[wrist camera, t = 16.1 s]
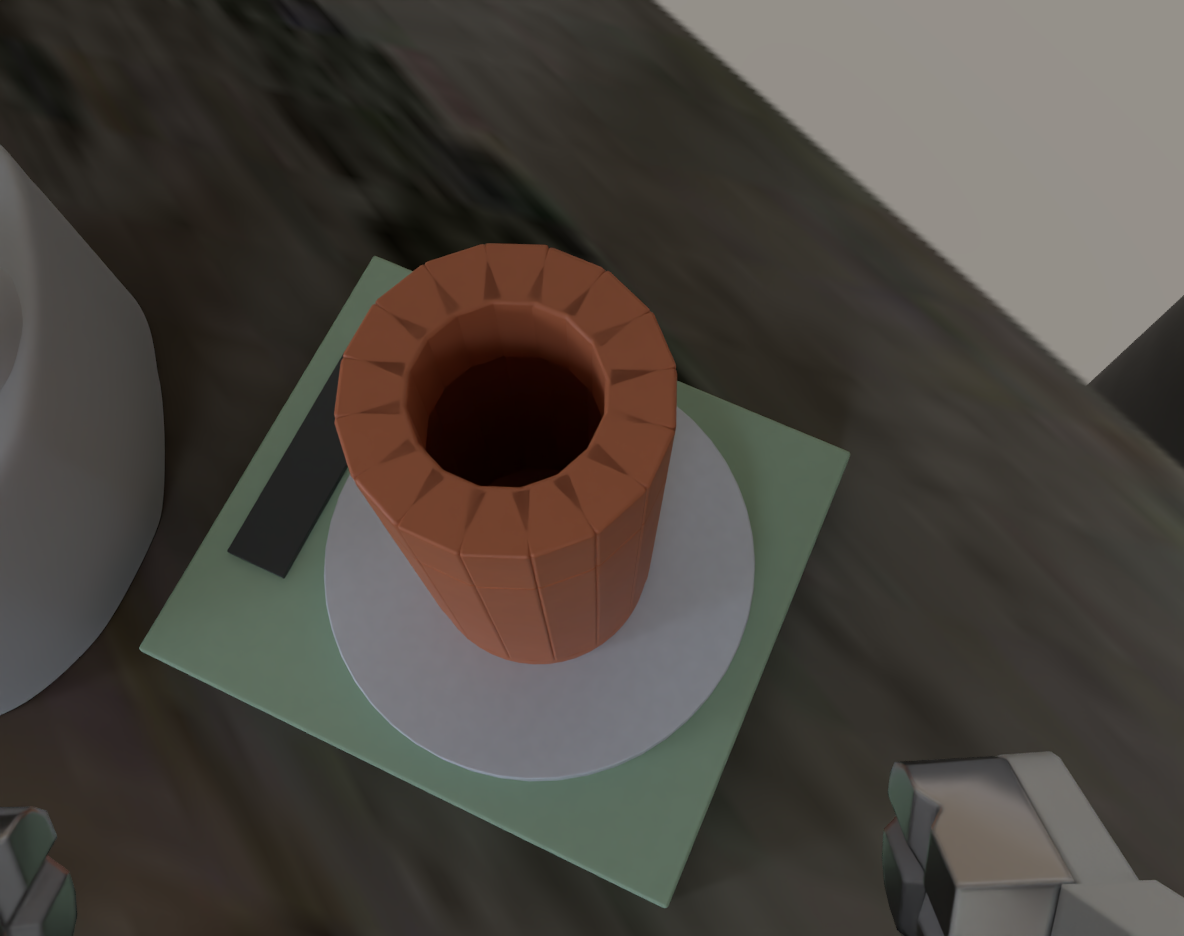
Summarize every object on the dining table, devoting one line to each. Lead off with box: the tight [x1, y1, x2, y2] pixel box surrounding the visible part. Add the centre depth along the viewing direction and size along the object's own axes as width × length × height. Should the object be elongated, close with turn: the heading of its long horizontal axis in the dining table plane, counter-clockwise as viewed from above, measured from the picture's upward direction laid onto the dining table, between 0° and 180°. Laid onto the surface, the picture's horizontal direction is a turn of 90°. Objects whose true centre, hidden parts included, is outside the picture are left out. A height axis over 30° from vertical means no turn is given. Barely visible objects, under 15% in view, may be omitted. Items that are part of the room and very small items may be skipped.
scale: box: [139, 256, 850, 908], centre depth 27 cm, size 14×12×3 cm
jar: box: [334, 243, 677, 664], centre depth 21 cm, size 5×5×10 cm
